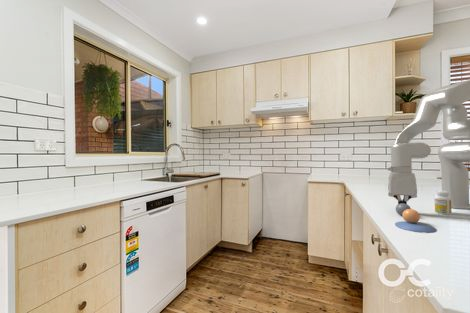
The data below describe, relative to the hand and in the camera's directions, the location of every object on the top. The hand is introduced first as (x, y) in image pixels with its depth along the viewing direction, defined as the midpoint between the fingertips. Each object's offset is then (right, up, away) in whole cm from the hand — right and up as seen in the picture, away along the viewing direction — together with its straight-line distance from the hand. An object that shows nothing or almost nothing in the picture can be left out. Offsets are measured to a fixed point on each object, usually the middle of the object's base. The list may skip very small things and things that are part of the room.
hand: (402, 209), depth 100 cm
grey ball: (-3, +1, -5) cm, 6 cm away
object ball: (-7, +1, -14) cm, 16 cm away
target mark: (-10, -2, -19) cm, 21 cm away
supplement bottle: (+16, -1, -3) cm, 16 cm away
